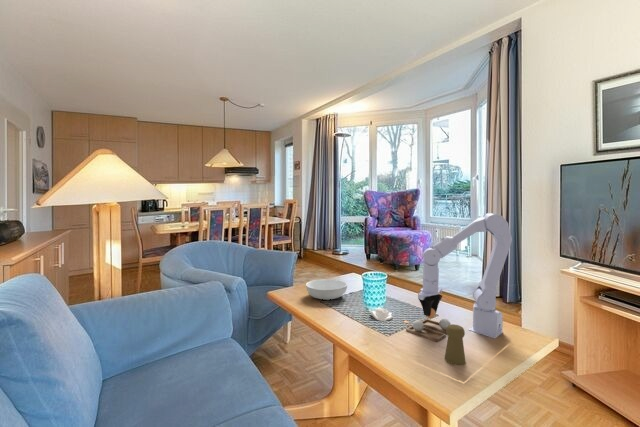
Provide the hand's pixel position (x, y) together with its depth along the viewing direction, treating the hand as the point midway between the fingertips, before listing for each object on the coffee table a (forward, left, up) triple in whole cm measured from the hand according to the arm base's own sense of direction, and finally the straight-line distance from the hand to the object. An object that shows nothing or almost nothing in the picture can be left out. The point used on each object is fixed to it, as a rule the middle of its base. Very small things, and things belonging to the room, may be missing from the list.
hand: (430, 314), depth 125 cm
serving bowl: (+54, +5, -5) cm, 54 cm away
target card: (+6, +4, -5) cm, 9 cm away
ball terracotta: (0, 0, -2) cm, 2 cm away
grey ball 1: (0, +8, -4) cm, 10 cm away
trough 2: (-3, 0, -5) cm, 6 cm away
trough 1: (-3, +8, -5) cm, 10 cm away
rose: (+18, +7, -5) cm, 20 cm away
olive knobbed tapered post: (-19, +19, -5) cm, 27 cm away
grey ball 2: (-6, 0, -4) cm, 7 cm away
